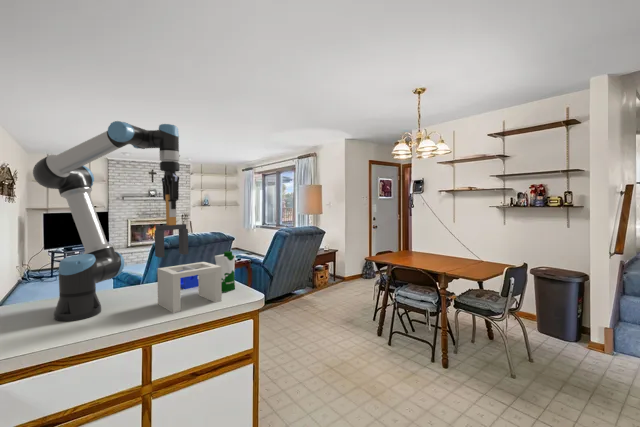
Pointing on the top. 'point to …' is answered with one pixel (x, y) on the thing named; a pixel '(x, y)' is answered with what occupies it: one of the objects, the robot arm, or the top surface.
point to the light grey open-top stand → (171, 279)
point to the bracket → (189, 282)
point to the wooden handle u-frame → (170, 226)
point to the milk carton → (227, 270)
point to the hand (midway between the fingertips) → (171, 216)
